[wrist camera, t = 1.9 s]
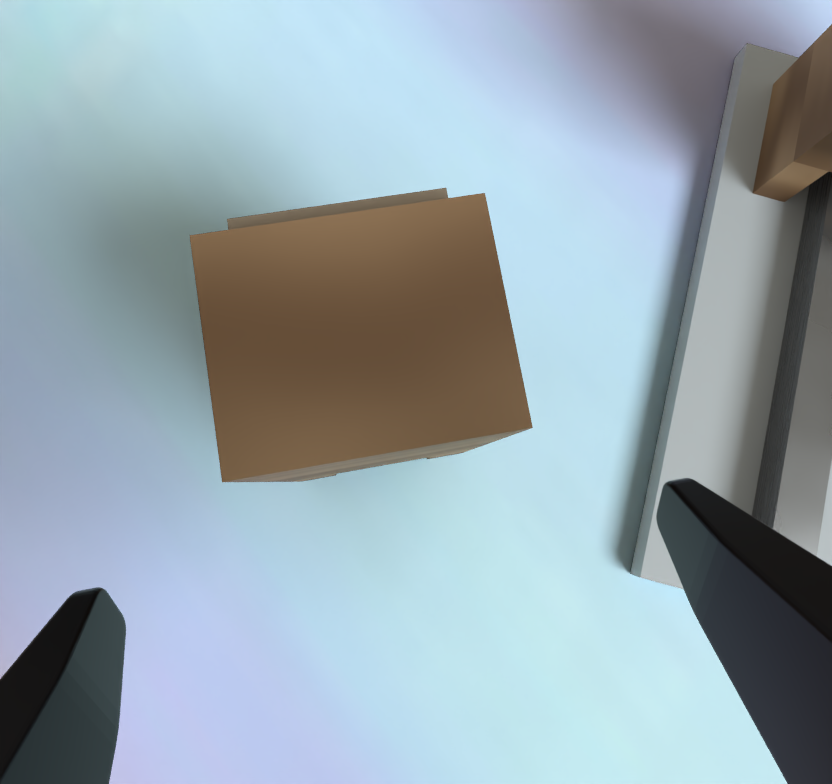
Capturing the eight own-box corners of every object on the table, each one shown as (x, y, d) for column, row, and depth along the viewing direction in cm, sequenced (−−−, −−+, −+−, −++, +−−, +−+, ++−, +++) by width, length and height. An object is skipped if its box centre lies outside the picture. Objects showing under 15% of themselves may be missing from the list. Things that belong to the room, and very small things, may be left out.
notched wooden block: (461, 453, 21) (532, 427, 11) (301, 481, 20) (221, 482, 10) (434, 310, 21) (478, 163, 11) (279, 334, 21) (185, 204, 11)
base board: (857, 634, 20) (876, 640, 20) (630, 573, 20) (640, 577, 20) (931, 113, 24) (950, 100, 23) (734, 57, 23) (747, 43, 23)
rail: (782, 605, 20) (807, 613, 18) (738, 594, 20) (760, 601, 18) (867, 84, 23) (893, 62, 22) (828, 73, 23) (853, 51, 21)
